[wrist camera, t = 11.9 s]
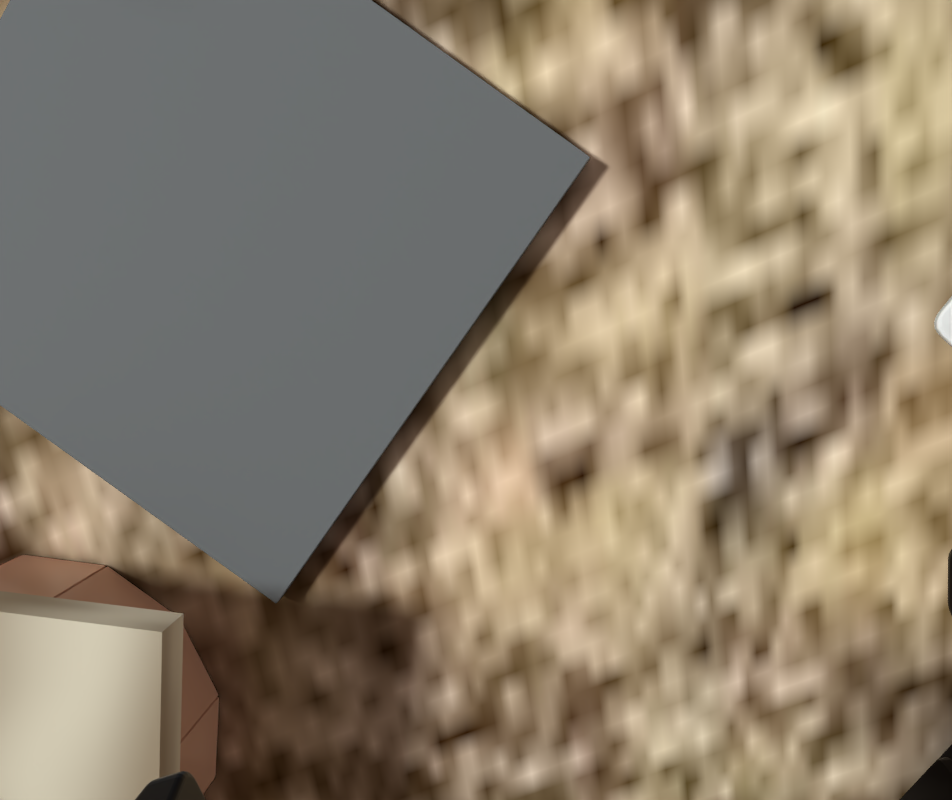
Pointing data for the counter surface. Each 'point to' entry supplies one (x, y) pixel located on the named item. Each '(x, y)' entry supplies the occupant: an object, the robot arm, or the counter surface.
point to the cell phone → (945, 322)
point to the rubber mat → (247, 248)
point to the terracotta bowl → (116, 590)
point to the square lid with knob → (87, 698)
